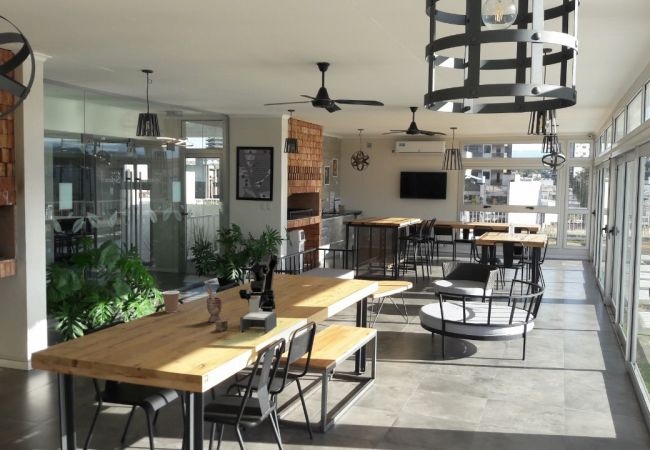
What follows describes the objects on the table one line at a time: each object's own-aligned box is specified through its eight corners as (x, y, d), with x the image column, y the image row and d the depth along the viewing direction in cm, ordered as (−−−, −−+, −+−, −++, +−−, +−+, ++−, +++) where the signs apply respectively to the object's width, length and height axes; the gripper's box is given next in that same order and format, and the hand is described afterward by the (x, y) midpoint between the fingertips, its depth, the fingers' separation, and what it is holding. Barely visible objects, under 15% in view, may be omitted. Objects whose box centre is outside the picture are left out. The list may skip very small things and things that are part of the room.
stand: (222, 328, 342) (222, 319, 341) (227, 329, 339) (227, 320, 338) (215, 330, 338) (215, 320, 338) (221, 331, 335) (220, 322, 335)
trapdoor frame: (251, 324, 350) (250, 310, 349) (276, 326, 346) (276, 311, 346) (240, 331, 334) (240, 317, 333) (266, 333, 330) (266, 318, 330)
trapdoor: (253, 316, 349) (253, 310, 348) (273, 317, 346) (273, 311, 346) (243, 323, 334) (243, 316, 333) (264, 324, 331) (264, 317, 331)
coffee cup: (182, 309, 392) (181, 290, 391) (176, 313, 382) (176, 293, 381) (166, 309, 393) (165, 290, 392) (160, 313, 383) (159, 293, 382)
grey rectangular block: (251, 310, 337) (251, 297, 337) (260, 310, 336) (260, 297, 336) (249, 312, 332) (249, 299, 332) (258, 312, 332) (258, 299, 331)
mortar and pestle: (199, 321, 360) (199, 286, 358) (209, 318, 367) (208, 284, 366) (216, 323, 354) (215, 288, 353) (225, 320, 362) (224, 286, 360)
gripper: (239, 274, 338) (234, 298, 328) (273, 275, 335) (268, 299, 325) (243, 286, 346) (238, 310, 336) (276, 286, 344) (272, 311, 334)
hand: (254, 307), depth 333 cm, fingers closed on grey rectangular block, 5 cm apart
